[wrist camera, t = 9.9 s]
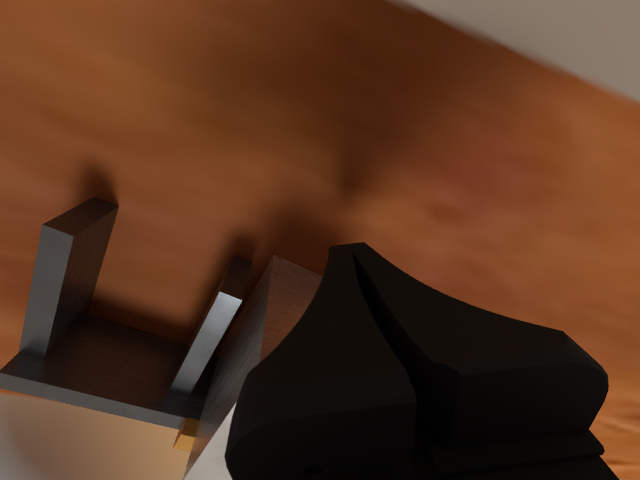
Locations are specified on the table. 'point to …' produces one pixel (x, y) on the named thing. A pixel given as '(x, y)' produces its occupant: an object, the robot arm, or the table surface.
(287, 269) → the grey block
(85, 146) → the table surface
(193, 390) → the rack
